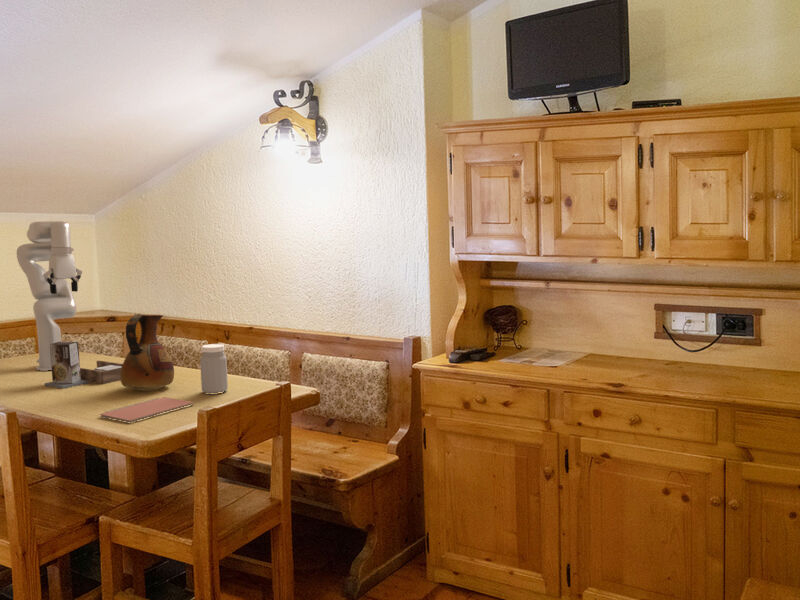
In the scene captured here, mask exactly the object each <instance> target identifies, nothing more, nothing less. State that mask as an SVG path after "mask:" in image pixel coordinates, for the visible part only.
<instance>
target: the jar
mask: <svg viewBox="0 0 800 600" xmlns="http://www.w3.org/2000/svg"><path fill="white" fill-rule="evenodd" d="M224 350H225V345H224V344H222V343H211V344H210V343H209V344H203V345H202V346H201V352H202V353H201V358H200V359H199V360H200V365H199V366H200V380H201V382H200V383H201V385H200V386H201V391H202V393H204V392H205V393H218V392H223V391H225V392H227V390H228V388H229V387H228V386H229V385H228V384H229V383H228V364H227V363H228V362H227V361H228V360H227V359H228V358H227V356H226V354H225V352H224ZM205 393H204V394H205Z"/></svg>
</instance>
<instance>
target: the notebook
mask: <svg viewBox="0 0 800 600" xmlns="http://www.w3.org/2000/svg"><path fill="white" fill-rule="evenodd" d="M191 404H195V402H193V401H189V400H184V399H178V398H171V397H167V396H163V397H156V398H152V399H149V400H145V401H142V402H137V403H133V404H129V405H125V406H123V407H122V406H121V407H118V408H115V409H112V410H107V411H104V412H102V413H99V415H100V418H101V417H105V418H104V419H106V418H111V419H116V420H121V421H126V422H130V423H131V422H134V421H137V420H140V419H144V418H147V417H151V416H154V415H157V414H160V413H163V412H167V411H170V410H174V409H177V408H181V407H184V406H188V405H191ZM111 419H110V420H111Z"/></svg>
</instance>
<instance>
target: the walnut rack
mask: <svg viewBox="0 0 800 600" xmlns="http://www.w3.org/2000/svg"><path fill="white" fill-rule="evenodd" d="M109 365H114V366H121V368H122V365H123V363H119V362H112V361H106V360H99V359H98V360H96V368H99V367H104V366H109ZM121 368H116V369H111V370H107V371H98V370H94V369H90V368H84V367H80V374H81V379H83V380H89V381H90V382H89V383H94V382H96V384H100V383H101V385H105V384H108V383H109V384H111V383H114V382H118V381H121Z"/></svg>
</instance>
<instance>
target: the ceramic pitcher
mask: <svg viewBox="0 0 800 600" xmlns="http://www.w3.org/2000/svg"><path fill="white" fill-rule="evenodd" d="M163 317H164V314H141V313H137V314H136V313H135V314H134V315H133V316H132V317H131V318H129V320H128V321H127V322H126V325H125V338H126V341H127V344H128V347H129V352H128V353H127V355H126V356H125V359H124V361H123V362H122V364H123V365H122V368H121V380H120V383H121V385H122V386H123V387H125V388H129V389H132V390H135V391H148V392H149V391H153V392H154V391H157V390H160V389H161V388H164V387H166V386H169V385H171V384H172V383H173V381H174V377H175V367H174V362H173V359H172V357H171V355H170V354H169V352H168V350H167V349H166V347H164V346H163V345H162V344H161V343H160V342H159V341H158V336H157V329H158V323H159V321H160V320H161V319H162V318H163ZM138 322H139V325H140V330H141V331H140V339H139V341H138V339H137V333H136V332H137V331H136V330H137V324H138ZM159 388H160V389H159Z"/></svg>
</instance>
